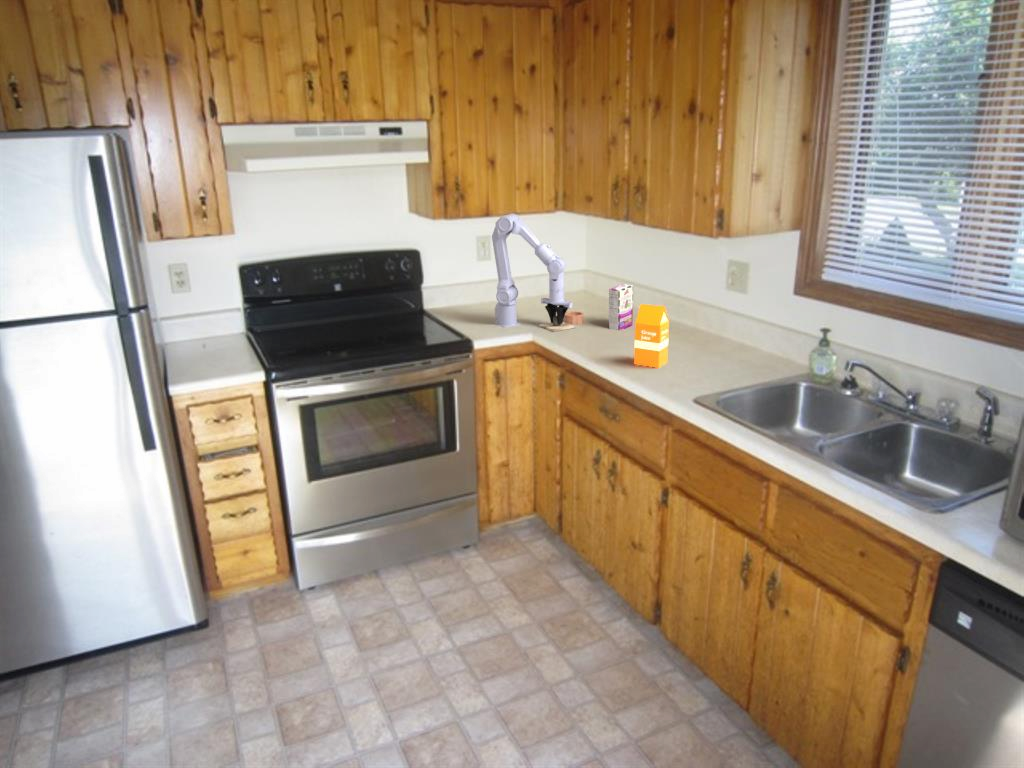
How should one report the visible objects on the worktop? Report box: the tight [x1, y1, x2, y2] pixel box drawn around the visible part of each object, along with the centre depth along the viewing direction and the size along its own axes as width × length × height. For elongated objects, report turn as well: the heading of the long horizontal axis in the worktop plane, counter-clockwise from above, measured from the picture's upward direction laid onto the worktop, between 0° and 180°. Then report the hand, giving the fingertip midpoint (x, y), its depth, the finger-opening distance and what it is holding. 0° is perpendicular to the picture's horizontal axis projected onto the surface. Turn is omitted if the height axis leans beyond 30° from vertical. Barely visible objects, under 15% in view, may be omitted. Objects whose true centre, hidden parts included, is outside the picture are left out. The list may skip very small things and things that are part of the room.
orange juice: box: [633, 303, 670, 369], centre depth 245 cm, size 8×9×20 cm
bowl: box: [563, 310, 585, 325], centre depth 302 cm, size 8×8×4 cm
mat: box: [538, 325, 576, 333], centre depth 295 cm, size 11×11×1 cm
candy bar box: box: [608, 283, 634, 331], centre depth 291 cm, size 11×5×16 cm, turn 143°
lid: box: [538, 315, 575, 333], centre depth 294 cm, size 10×10×4 cm
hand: (556, 323), depth 294 cm, fingers closed on lid, 3 cm apart
